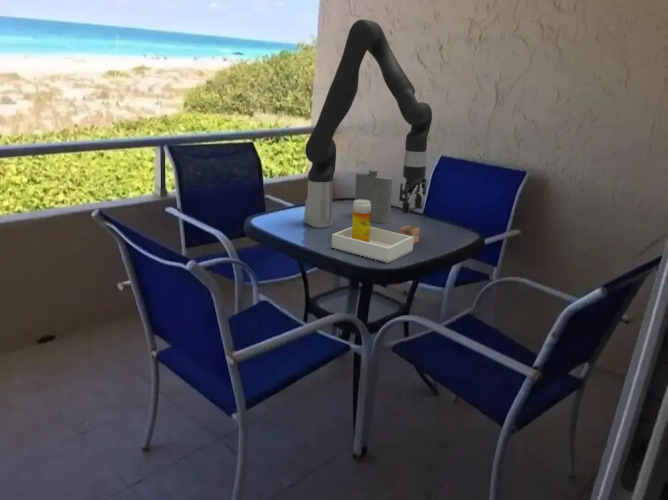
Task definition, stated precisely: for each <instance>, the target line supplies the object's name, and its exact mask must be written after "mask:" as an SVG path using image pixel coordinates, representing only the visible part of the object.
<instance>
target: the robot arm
mask: <svg viewBox="0 0 668 500" xmlns="http://www.w3.org/2000/svg"><path fill="white" fill-rule="evenodd" d="M367 51H368V53H369V54H370V55H371V56H372V57H373V58H374V60H375V61H376V63H377V64H378V67H379V68H380V71H381V75H382V79H383V80H384V83H385V85H386V87H387V88H388V90H389V91H390V93H391V94H392V96H393V98H394V99H395V100H396V103H397V105H398V109H399V111H400V113H401V116H402V117H403V119H404V121H405V122H406V123H408V125H410V127H411V128H410V131H409V132H408V133H407V134H406V138H405V145H404V147H405V148H404V156H403V169H402V170H403V171H402V176H403V178H404V179H405V180H406V181H405V183H400V186H399V187H400V189H399V200H398V201H399V202H402V213H403V214H410V204H411V200H412V198H413V197H414V195H415V199H414V208H415V209H417V210H418V209H419V210H420V209H421V208H422V199H423V198H424V196H426V195H427V194H426V193H427V178H426V173H427V161H428V160H427V159H428V158H427V157H428V156H427V147H428V145H427V144H428V136H429V132H430V129H431V126H432V125H431V124H432V120H433V110H432V108H431V106H430V105H429V104H428V103H427V102H422V101H421V102H418V100H417V98H416V96H415V94H416V89H415V86H414V85H413V84H412V82H411V80H410V79H409V77H408V76H407V74H406V73H405V72H404V69H403V68H402V67H401V65H400V63H399V61H398V60H397V58H396V57H395V54H394V53H393V50H392V49H391V46H390V43H389V42H388V39H387V37H386V34H385V33H384V31H383V29H382V27H381V26H380V24H378V22H375V21H373V20H369V19H364V18H363V19H362V18H361V19H358V20H356V21H355V22H354V23H353V24H352V25H351V27H350V29H349V32H348V34H347V38H346V42H345V45H344V49H343V52H342V56H341V59H340V61H339V64H338V65H337V66H338V67H337V69H336V71H335V74H334V77H333V80H332V82H331V84H330V87H329V89H328V92H327V95H326V96H325V100H324V103H323V106H322V107H321V108H322V109H321V111H320V114H319V115H318V116H319V117H318V120H317V121H316V124H315V126H314V129H312V132H311V134H310V136H309V138H308V140H307V141H306V144H305V147H304V148H305V151H304V152H305V157H306V159H307V160H308V161H310V162H311V163H312V164H311V167H310V169H309V171H308V174H307V198H306V199H305V206H304V208H305V209H304V210H305V211H304V214H305V218H304V223H307V224H306V225H307V226H309V225H310V226H309V227H311V226H312V228H318V229H320V228H328V227H329V228H330V227H331V226H332V224H333V221H332V220H333V191H334V190H333V184H334V175H335V173H336V172H335V171H336V162H337V147H336V146H337V145H336V142H335V140H334V139H333V137H334V134H335V133H336V131H337V128H338V127H339V126H340V124H341V123H342V122H343V120H344V119H345V117H346V116H347V114H348V113H349V112H350V109H351V107H352V106H353V103H354V102H355V99H356V96H357V93H358V89H359V78H360V77H359V75H360V68H361V66H362V65H361V64H362V62H363V60H364V57H365V56H366V54H367Z"/></svg>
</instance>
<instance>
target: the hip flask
mask: <svg viewBox="0 0 668 500" xmlns="http://www.w3.org/2000/svg"><path fill="white" fill-rule="evenodd" d="M378 173H379V170H378V169H376V168H372V169H371V168H369V169H368V172H356V173H355V191H354V193H355V195H354V201H355V200H359V199H363V200H369V201H370V203H371V221H370V222H372V223H378V224H383V225H385V224H386V225H387V224H388V225H389V224H390V223H391V222H390V220H391V205H392V204H391V203H392V191H393V190H392V189H393V188H392V187H393V178H392V177H390V176H388V177H387V176H380V175H378Z"/></svg>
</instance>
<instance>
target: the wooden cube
mask: <svg viewBox="0 0 668 500" xmlns="http://www.w3.org/2000/svg"><path fill="white" fill-rule="evenodd" d="M399 233H400V234H404V235H408V236H412V237H414V241H413V245H415V244H417V243H419V241H420V227H416V226H412V225H405V226H402V227H400V228H399Z"/></svg>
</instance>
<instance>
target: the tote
mask: <svg viewBox="0 0 668 500" xmlns="http://www.w3.org/2000/svg"><path fill="white" fill-rule="evenodd" d="M413 241H414V237H412V236H408V235H404V234H400V232H395V231H391V230H387V229H382V228H378V227H374V226H370V240H369V242H365V241H361V240H357V239H353V238H352V226H349V227H348V228H345V229H343V230H339V231H337V232H335V233H332V234H331V249H332V248H335V249H334V250H336V249H339V250H343V251H346V252H349V253H348V254H350V253H353V254H352V255H354V254H357V255H360V256H359V257H361V256H364V257H363V258H365V257H368V258H371V259H370V260H372V259H375V260H374V261H376V260H379V261H383V262H386V263H385V264H387V263H388V264H390V263H392V262H394V261H396V260H399V259H400V258H403V257H404V256H406V255H408V254H410V253H412V252H413V250H414V244H413ZM339 250H338V251H339ZM343 251H342V252H343ZM346 252H345V253H346ZM357 255H356V256H357ZM368 258H367V259H368ZM379 261H378V262H379ZM391 261H392V262H391ZM383 262H382V263H383ZM389 262H390V263H389Z"/></svg>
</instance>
